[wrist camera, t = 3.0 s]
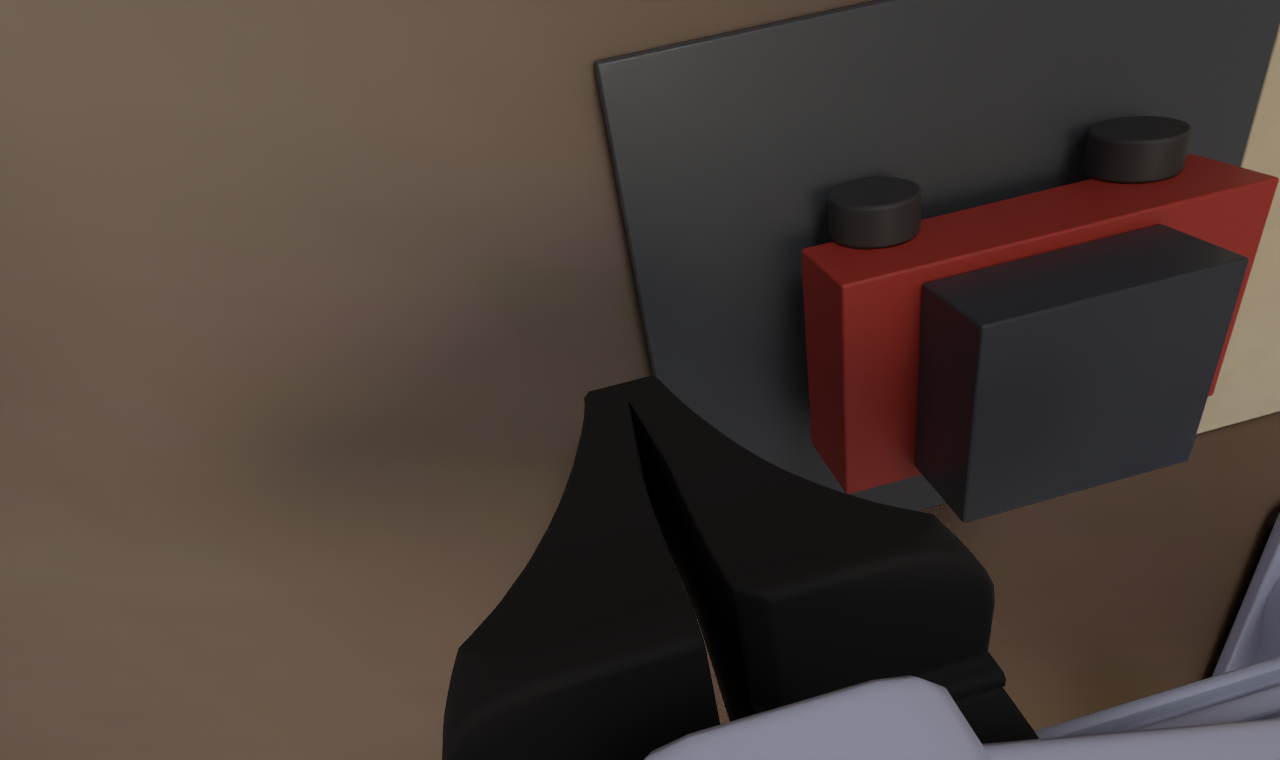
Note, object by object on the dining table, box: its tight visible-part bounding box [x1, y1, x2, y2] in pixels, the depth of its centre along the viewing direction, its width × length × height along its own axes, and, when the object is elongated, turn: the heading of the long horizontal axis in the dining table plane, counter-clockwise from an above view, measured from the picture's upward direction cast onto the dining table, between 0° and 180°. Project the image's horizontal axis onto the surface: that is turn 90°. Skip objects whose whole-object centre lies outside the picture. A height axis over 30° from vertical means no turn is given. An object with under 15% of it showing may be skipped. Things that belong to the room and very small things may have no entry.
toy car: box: [801, 116, 1279, 522], centre depth 14 cm, size 6×8×4 cm
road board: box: [594, 0, 1280, 511], centre depth 16 cm, size 12×24×1 cm, turn 100°
